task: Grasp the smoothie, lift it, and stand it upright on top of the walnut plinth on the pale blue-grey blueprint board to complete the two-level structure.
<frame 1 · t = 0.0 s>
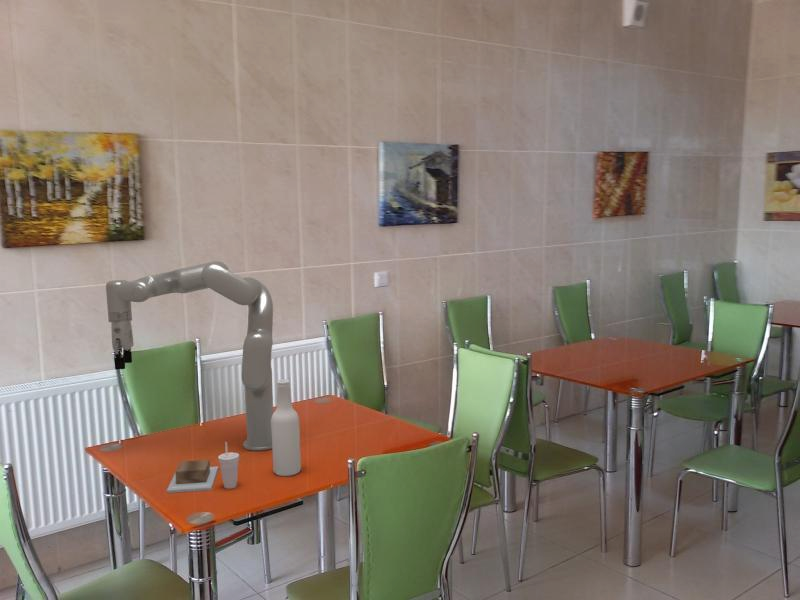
hand: (123, 365, 253), 31 cm above the table, fingers open, 9 cm apart
smoothie: (230, 486, 225), on the table
alcohol: (287, 472, 236), on the table
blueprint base: (193, 480, 231), on the table
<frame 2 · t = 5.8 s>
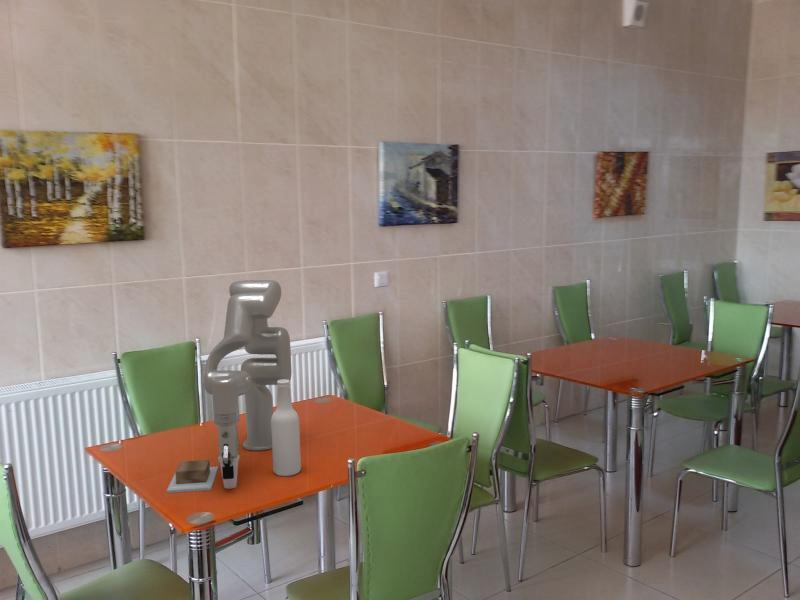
hand: (229, 473, 225), 4 cm above the table, fingers closed on smoothie, 6 cm apart
smoothie: (230, 486, 225), on the table, touching gripper
everything else where it was.
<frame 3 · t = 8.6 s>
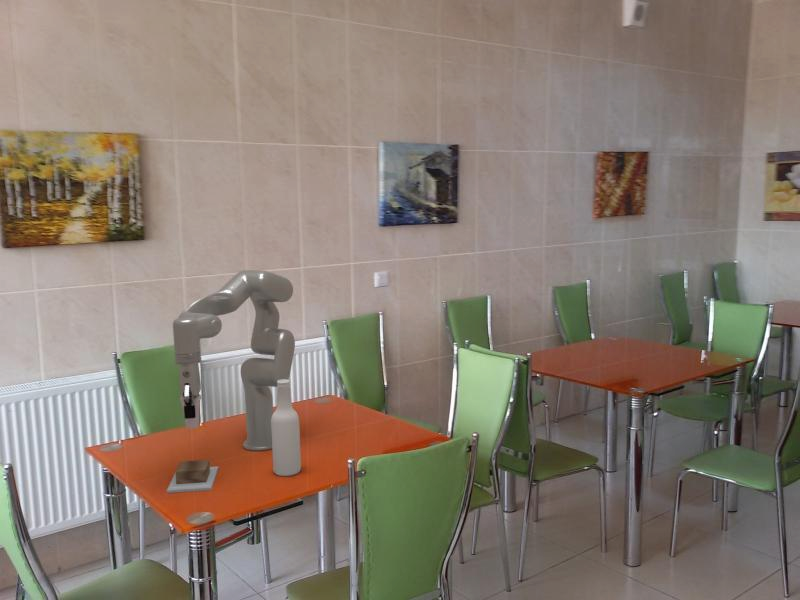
hand: (191, 414, 227), 21 cm above the table, fingers closed on smoothie, 6 cm apart
smoothie: (192, 427, 228), point 17 cm above the table, touching gripper
everything else where it was.
when the fingers open (10 cm above the table, at t = 11.3 s): smoothie drops 2 cm, resting on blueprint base.
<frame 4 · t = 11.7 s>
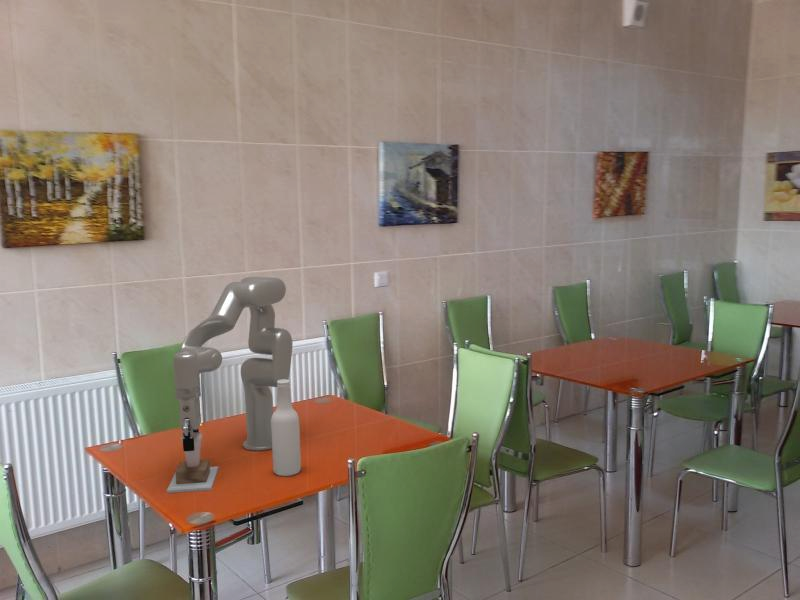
hand: (191, 445, 229), 11 cm above the table, fingers open, 9 cm apart
smoothie: (193, 465, 230), point 5 cm above the table, touching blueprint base
everything else where it was.
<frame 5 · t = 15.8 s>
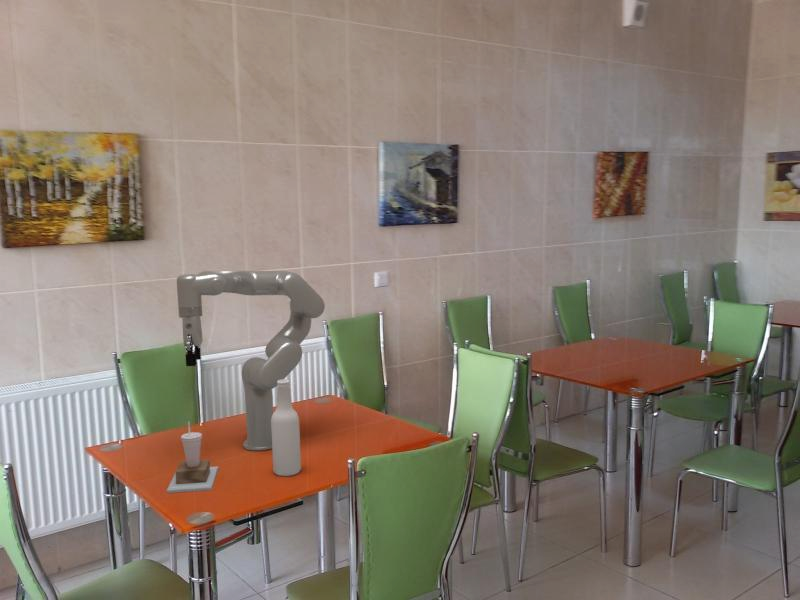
hand: (193, 362, 246), 33 cm above the table, fingers open, 9 cm apart
nothing on the table moved.
at the end: smoothie 0.3 cm off-centre on the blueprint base, point 4.6 cm above the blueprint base's base; smoothie tilted 1°; the gripper is holding nothing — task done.
